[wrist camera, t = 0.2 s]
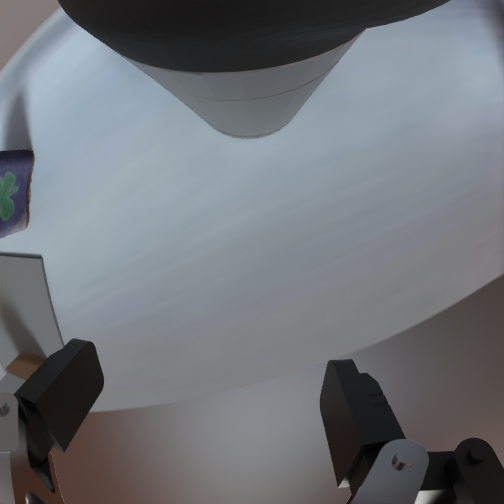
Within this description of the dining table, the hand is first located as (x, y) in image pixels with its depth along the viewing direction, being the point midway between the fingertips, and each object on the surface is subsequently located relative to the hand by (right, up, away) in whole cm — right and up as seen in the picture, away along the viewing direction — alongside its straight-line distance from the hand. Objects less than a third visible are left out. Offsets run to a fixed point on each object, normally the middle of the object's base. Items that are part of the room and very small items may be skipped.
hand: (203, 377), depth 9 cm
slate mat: (-33, -8, +21) cm, 39 cm away
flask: (-24, +11, +15) cm, 31 cm away
